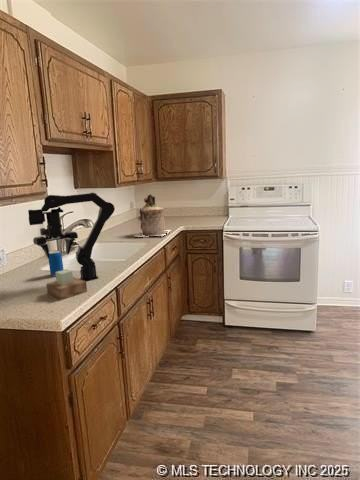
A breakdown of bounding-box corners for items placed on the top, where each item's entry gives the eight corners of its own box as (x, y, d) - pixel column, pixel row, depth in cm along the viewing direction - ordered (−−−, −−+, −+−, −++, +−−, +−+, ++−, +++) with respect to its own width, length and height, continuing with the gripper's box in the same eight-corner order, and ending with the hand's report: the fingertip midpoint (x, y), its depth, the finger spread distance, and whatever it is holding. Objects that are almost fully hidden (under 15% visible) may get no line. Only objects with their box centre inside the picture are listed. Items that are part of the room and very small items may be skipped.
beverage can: (65, 272, 183) (62, 250, 180) (61, 276, 176) (58, 253, 174) (53, 273, 183) (50, 250, 180) (49, 277, 176) (45, 253, 174)
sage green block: (67, 280, 153) (66, 269, 152) (73, 282, 149) (72, 271, 148) (56, 283, 149) (55, 272, 148) (62, 285, 146) (60, 274, 145)
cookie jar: (172, 231, 284) (169, 192, 278) (164, 237, 260) (161, 194, 254) (143, 232, 290) (139, 193, 283) (132, 238, 266) (128, 196, 260)
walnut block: (73, 287, 159) (72, 276, 158) (87, 292, 151) (86, 281, 150) (47, 294, 151) (46, 283, 150) (61, 301, 142) (59, 289, 141)
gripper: (66, 218, 171) (70, 250, 174) (27, 224, 160) (32, 257, 163) (76, 220, 163) (80, 253, 166) (35, 226, 151) (40, 261, 154)
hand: (58, 256), depth 162 cm, fingers open, 9 cm apart
